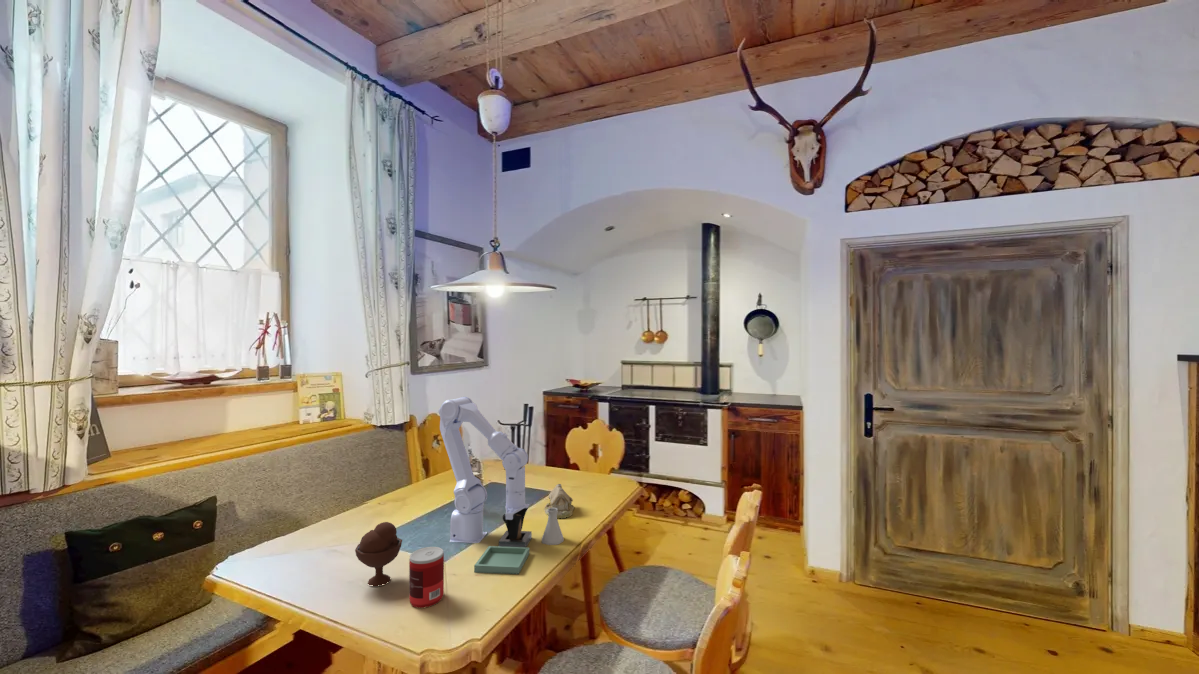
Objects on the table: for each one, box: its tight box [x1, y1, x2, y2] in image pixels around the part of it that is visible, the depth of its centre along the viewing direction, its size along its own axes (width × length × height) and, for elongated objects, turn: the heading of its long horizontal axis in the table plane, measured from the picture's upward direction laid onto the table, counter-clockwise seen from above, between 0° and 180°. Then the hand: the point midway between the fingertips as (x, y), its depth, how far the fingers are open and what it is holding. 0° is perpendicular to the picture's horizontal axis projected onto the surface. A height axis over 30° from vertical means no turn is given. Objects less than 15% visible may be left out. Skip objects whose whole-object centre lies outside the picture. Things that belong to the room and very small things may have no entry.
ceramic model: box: [543, 483, 575, 519], centre depth 173 cm, size 14×11×10 cm
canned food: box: [408, 546, 445, 609], centre depth 114 cm, size 8×8×11 cm
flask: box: [541, 508, 565, 546], centre depth 147 cm, size 7×7×10 cm
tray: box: [473, 545, 530, 575], centre depth 132 cm, size 12×12×2 cm
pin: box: [510, 514, 522, 540], centre depth 145 cm, size 4×4×8 cm
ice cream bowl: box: [354, 521, 403, 586], centre depth 123 cm, size 11×11×15 cm
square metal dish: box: [498, 530, 533, 548], centre depth 145 cm, size 8×8×2 cm
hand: (515, 534), depth 145 cm, fingers open, 5 cm apart
